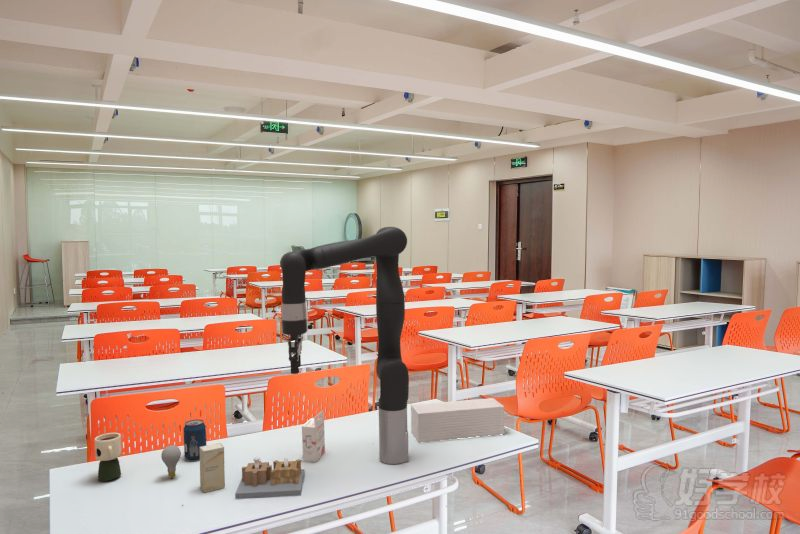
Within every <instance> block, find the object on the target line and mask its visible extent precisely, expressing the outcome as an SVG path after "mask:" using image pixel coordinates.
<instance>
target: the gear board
mask: <svg viewBox="0 0 800 534" xmlns="http://www.w3.org/2000/svg"><path fill="white" fill-rule="evenodd" d="M252 460H253V462H248V463H247V464H246V466H242V467H241V479H240V481H239V483H238V486H237V488H236V491H235V493H234V498H235V500H238V499H239V500H240V499H256V498H258V499H259V498H273V497H274V498H275V497H291V496H292V497H293V496H294V497H295V496H301V495H302V490H303V486H304V479H305V472H306V470H305V469H303V468H301V473H300V474H299V483H298V484H295V483H279V484H275V485H271V478H270V471H271V470H273V469H272V467H273V465H270V462H267V461H265V462H262V461H261V458H260V457H259V456H255V457H253V459H252ZM283 461H284V467H288V461H289V458H288V457H284V459H283Z"/></svg>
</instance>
